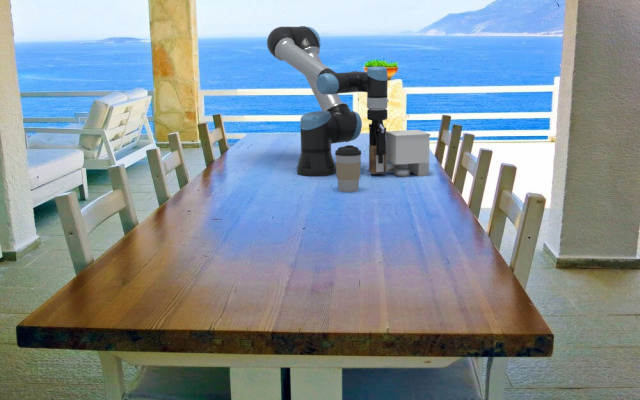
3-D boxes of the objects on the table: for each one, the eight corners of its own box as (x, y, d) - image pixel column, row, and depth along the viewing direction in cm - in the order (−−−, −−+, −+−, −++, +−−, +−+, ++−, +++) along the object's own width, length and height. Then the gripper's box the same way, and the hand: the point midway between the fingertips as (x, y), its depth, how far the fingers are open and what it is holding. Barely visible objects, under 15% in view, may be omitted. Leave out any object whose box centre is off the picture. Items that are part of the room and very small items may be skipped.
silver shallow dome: (399, 177, 256) (399, 171, 256) (391, 175, 262) (391, 168, 261) (413, 176, 258) (413, 169, 258) (405, 173, 264) (405, 167, 263)
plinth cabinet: (395, 177, 255) (395, 135, 252) (385, 171, 267) (385, 131, 263) (429, 175, 258) (430, 133, 255) (417, 169, 270) (418, 129, 266)
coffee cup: (359, 193, 232) (359, 149, 228) (333, 192, 233) (332, 148, 230) (363, 187, 240) (363, 144, 237) (337, 186, 242) (337, 144, 239)
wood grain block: (373, 173, 258) (373, 147, 256) (369, 171, 263) (369, 145, 261) (409, 171, 261) (409, 145, 259) (404, 169, 266) (405, 143, 264)
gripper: (395, 110, 248) (394, 174, 253) (379, 106, 265) (379, 165, 270) (375, 111, 246) (375, 175, 252) (360, 107, 263) (361, 167, 269)
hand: (377, 170), depth 261 cm, fingers closed on wood grain block, 5 cm apart
